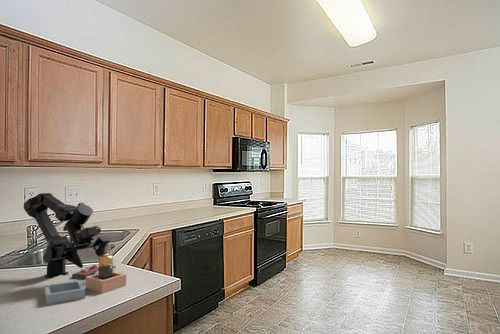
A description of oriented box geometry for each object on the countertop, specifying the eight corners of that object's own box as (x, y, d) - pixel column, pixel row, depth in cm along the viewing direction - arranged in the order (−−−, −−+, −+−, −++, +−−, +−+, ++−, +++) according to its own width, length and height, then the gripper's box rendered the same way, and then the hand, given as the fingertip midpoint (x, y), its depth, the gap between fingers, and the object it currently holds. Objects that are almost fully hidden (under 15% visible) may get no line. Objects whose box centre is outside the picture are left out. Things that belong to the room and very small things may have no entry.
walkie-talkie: (88, 283, 130) (117, 269, 150) (88, 272, 130) (117, 259, 150) (68, 282, 132) (99, 268, 151) (68, 271, 132) (99, 258, 151)
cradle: (44, 297, 114) (44, 285, 114) (80, 291, 120) (80, 280, 120) (46, 308, 105) (46, 295, 105) (85, 301, 111) (85, 288, 111)
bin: (85, 290, 121) (85, 276, 121) (109, 283, 129) (109, 270, 129) (102, 296, 116) (102, 281, 116) (126, 288, 124) (126, 274, 124)
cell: (100, 284, 125) (100, 253, 125) (114, 283, 125) (114, 252, 126) (97, 289, 120) (96, 256, 120) (111, 288, 121) (111, 255, 121)
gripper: (62, 221, 122) (79, 256, 116) (107, 216, 138) (124, 246, 132) (49, 241, 126) (65, 275, 120) (95, 233, 142) (111, 264, 136)
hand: (93, 264), depth 127 cm, fingers open, 9 cm apart
